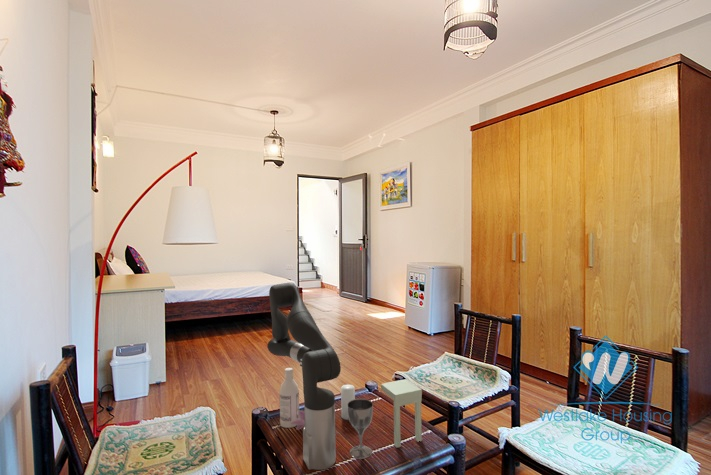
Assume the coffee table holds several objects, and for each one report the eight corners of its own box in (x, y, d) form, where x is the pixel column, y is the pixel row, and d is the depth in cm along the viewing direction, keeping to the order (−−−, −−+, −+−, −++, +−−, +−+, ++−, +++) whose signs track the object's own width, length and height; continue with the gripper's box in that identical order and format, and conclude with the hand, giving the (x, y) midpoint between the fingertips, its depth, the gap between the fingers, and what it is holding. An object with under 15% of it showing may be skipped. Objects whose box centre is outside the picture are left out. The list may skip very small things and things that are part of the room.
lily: (333, 434, 127) (327, 405, 131) (321, 437, 116) (315, 405, 121) (301, 442, 128) (297, 413, 133) (287, 446, 118) (283, 414, 122)
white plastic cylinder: (344, 420, 134) (343, 391, 134) (339, 414, 138) (339, 385, 139) (357, 418, 136) (356, 388, 136) (352, 412, 141) (351, 383, 141)
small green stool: (396, 448, 116) (395, 395, 116) (381, 433, 125) (381, 383, 125) (422, 441, 120) (421, 389, 120) (406, 426, 129) (406, 379, 129)
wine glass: (374, 445, 118) (373, 399, 118) (372, 460, 110) (372, 410, 110) (349, 444, 118) (349, 398, 118) (346, 459, 110) (346, 409, 111)
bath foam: (294, 417, 137) (293, 364, 137) (302, 424, 132) (301, 369, 132) (276, 422, 133) (276, 368, 133) (285, 430, 128) (284, 373, 128)
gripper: (290, 349, 147) (317, 361, 136) (316, 341, 158) (343, 351, 147) (289, 367, 147) (316, 380, 137) (315, 357, 158) (342, 369, 147)
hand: (330, 365), depth 142 cm, fingers open, 8 cm apart
